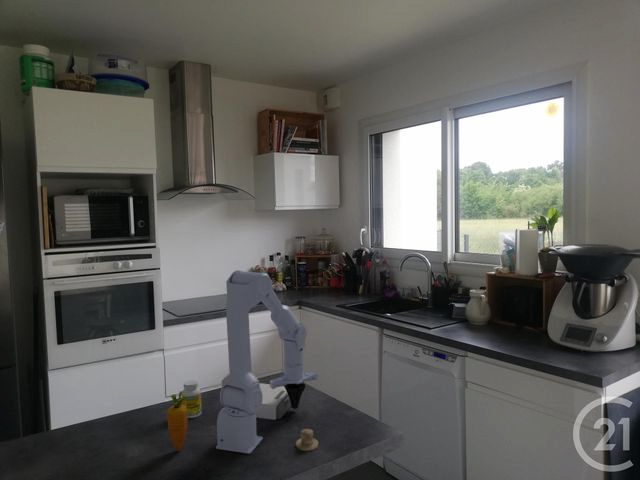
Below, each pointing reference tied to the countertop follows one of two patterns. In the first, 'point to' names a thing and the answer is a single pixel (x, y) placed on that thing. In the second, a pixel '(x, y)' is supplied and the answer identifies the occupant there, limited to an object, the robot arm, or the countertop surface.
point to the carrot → (177, 421)
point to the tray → (283, 407)
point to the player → (270, 401)
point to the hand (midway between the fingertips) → (294, 407)
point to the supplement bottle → (192, 398)
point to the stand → (307, 441)
